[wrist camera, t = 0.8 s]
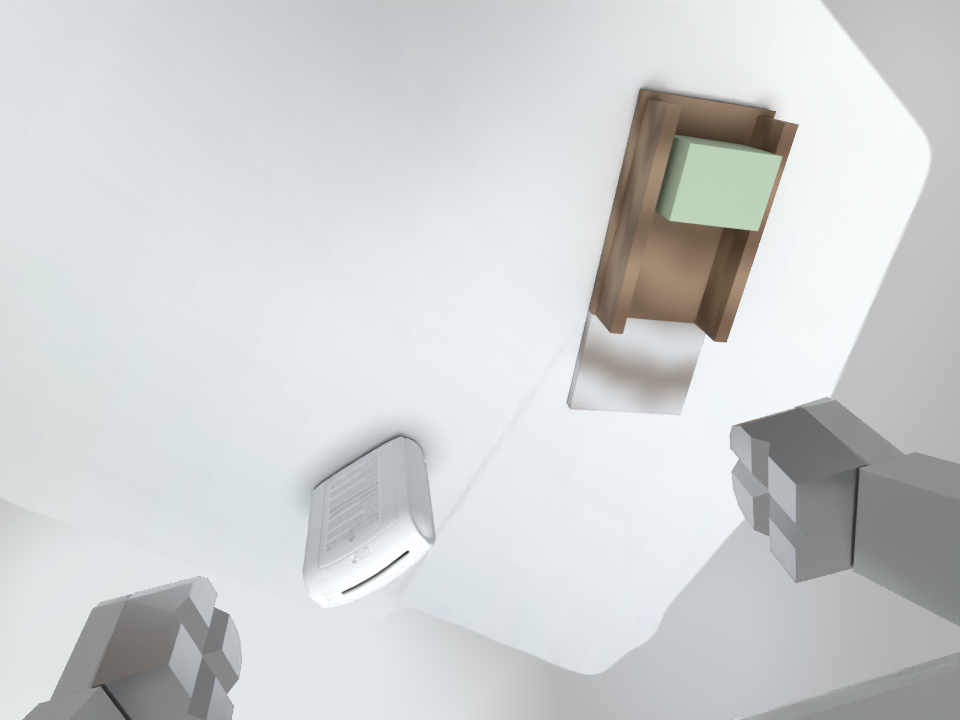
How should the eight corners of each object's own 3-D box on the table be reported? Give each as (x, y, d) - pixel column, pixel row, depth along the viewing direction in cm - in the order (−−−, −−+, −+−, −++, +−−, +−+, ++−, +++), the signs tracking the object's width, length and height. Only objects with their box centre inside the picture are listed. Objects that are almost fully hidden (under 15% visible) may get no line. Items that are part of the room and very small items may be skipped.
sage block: (659, 132, 47) (690, 143, 43) (744, 144, 49) (782, 156, 44) (641, 203, 49) (669, 220, 45) (723, 213, 51) (758, 231, 46)
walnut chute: (640, 89, 47) (666, 95, 43) (768, 109, 49) (804, 117, 45) (567, 403, 57) (582, 431, 53) (675, 409, 59) (698, 436, 55)
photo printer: (335, 521, 59) (329, 634, 48) (303, 489, 57) (290, 600, 46) (433, 460, 58) (450, 561, 47) (404, 426, 56) (414, 523, 45)
